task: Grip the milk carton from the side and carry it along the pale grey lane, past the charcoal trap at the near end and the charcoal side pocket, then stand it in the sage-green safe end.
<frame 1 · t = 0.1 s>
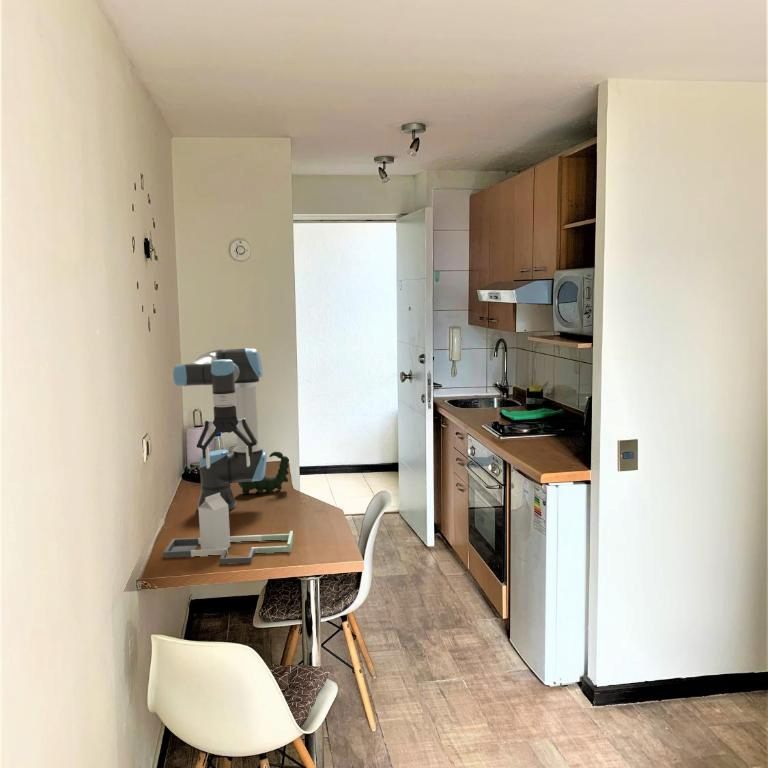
hand: (228, 466, 263), 28 cm above the table, tool pointing down, fingers open, 13 cm apart
toy figurine: (261, 493, 337), on the table
milk carton: (215, 549, 264), resting in trap lane
trap lane: (227, 548, 264), on the table
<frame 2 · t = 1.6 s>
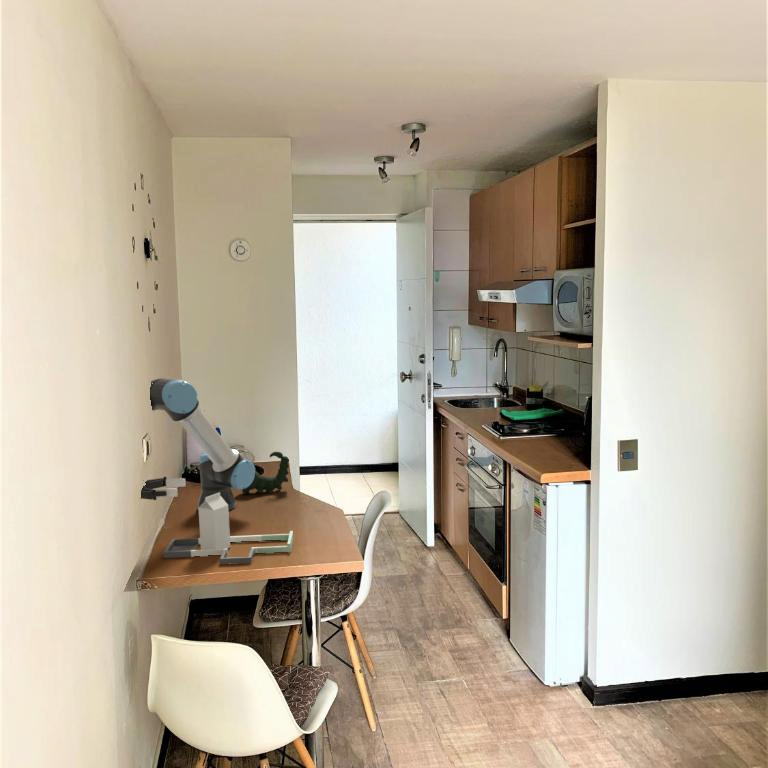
hand: (181, 487, 260), 22 cm above the table, tool horizontal, fingers open, 13 cm apart
nothing on the table moved.
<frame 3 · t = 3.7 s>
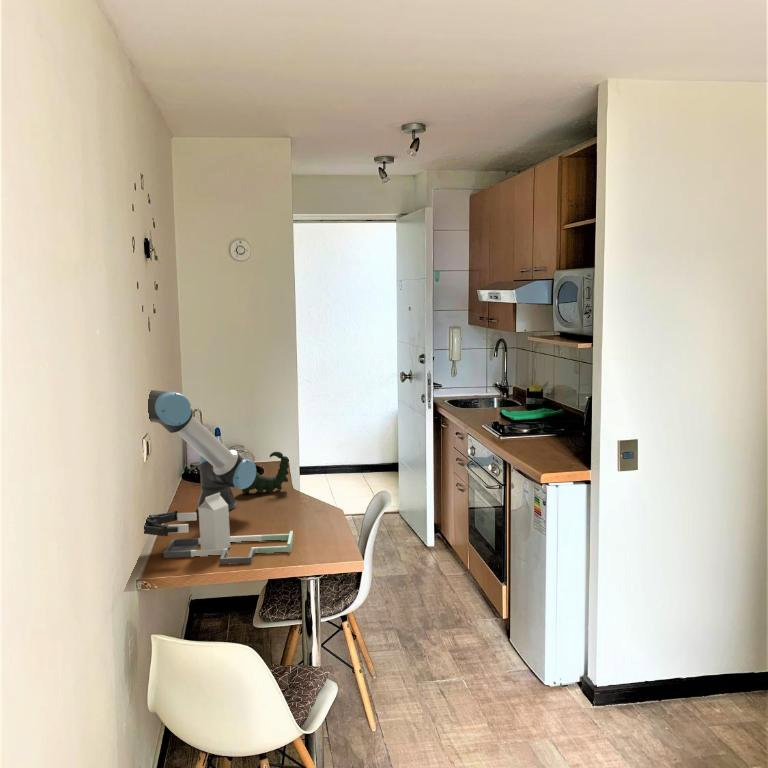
hand: (192, 522, 262), 10 cm above the table, tool horizontal, fingers open, 13 cm apart
nothing on the table moved.
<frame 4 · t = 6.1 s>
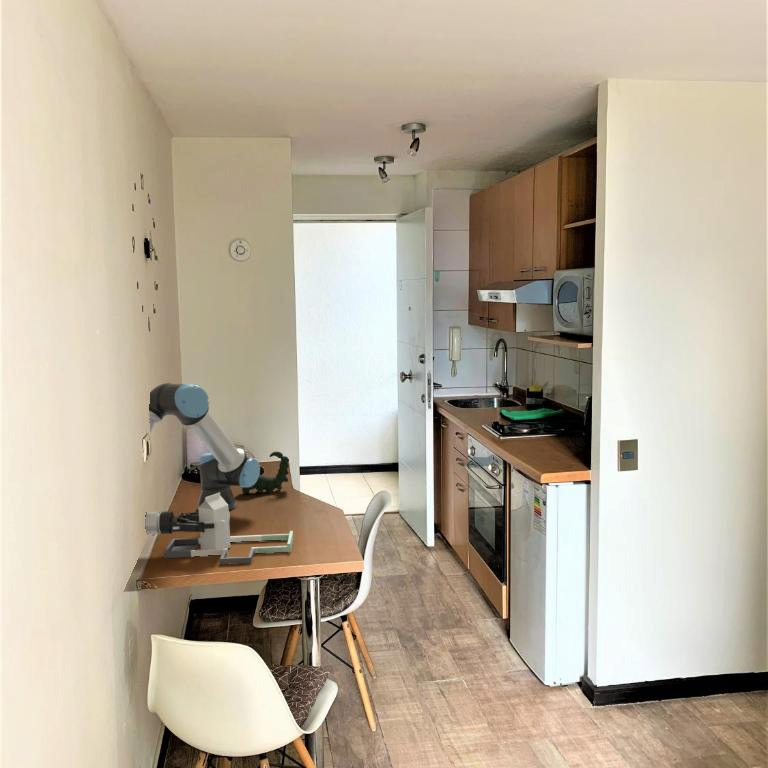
hand: (227, 520, 263), 10 cm above the table, tool horizontal, fingers closed on milk carton, 10 cm apart
milk carton: (215, 549, 264), resting in trap lane, touching gripper
everything else where it was.
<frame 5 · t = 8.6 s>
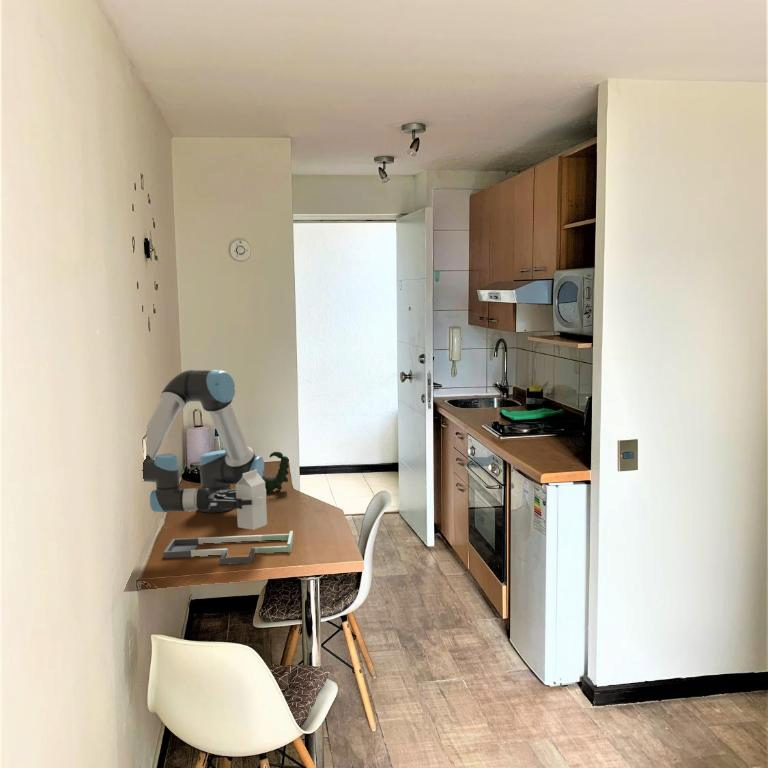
hand: (264, 497, 261), 18 cm above the table, tool horizontal, fingers closed on milk carton, 10 cm apart
milk carton: (252, 526, 262), point 8 cm above the table, touching gripper
everything else where it was.
when the fingers open (11 cm above the table, at t = 11.2 s): milk carton drops 1 cm, resting in trap lane.
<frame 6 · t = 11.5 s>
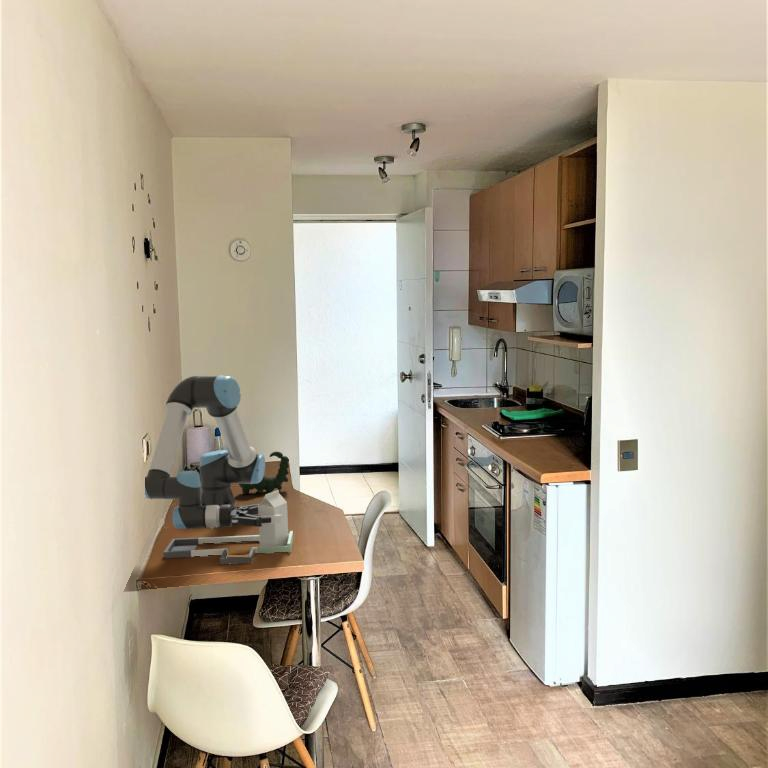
hand: (283, 513, 263), 11 cm above the table, tool horizontal, fingers open, 12 cm apart
milk carton: (274, 546, 265), resting in trap lane
everything else where it was.
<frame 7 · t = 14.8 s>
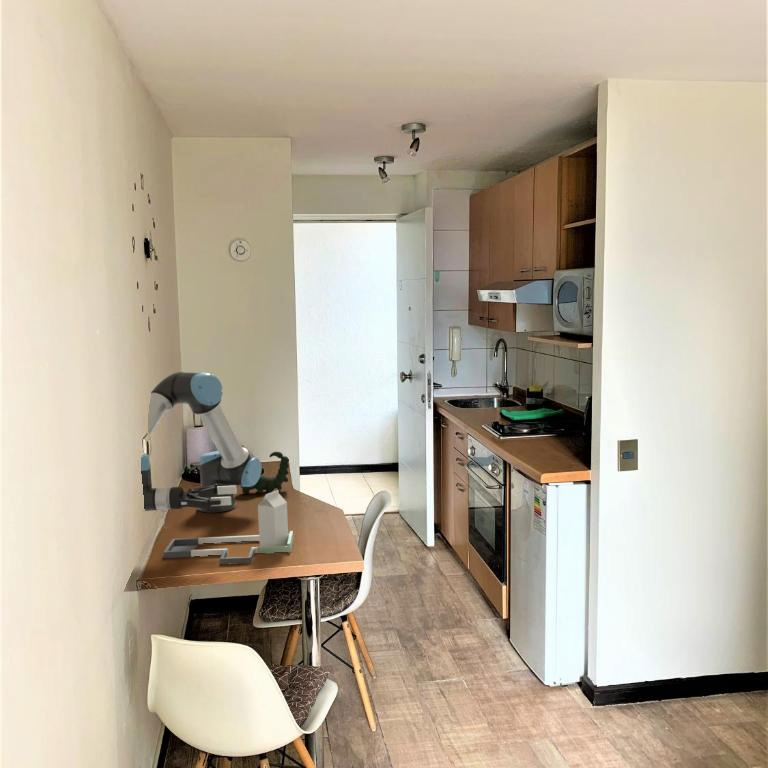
hand: (233, 495, 261), 19 cm above the table, tool horizontal, fingers open, 13 cm apart
nothing on the table moved.
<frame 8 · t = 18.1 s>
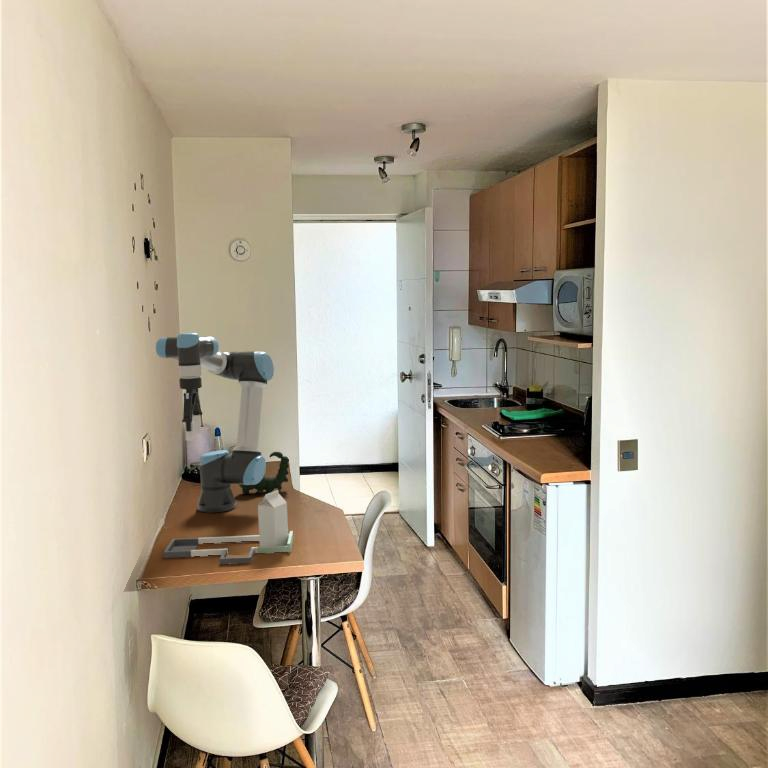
hand: (193, 436, 273), 37 cm above the table, tool pointing down, fingers open, 13 cm apart
nothing on the table moved.
at the end: milk carton inside the target area (0.1 cm from its centre), resting in trap lane; milk carton tilted 0°; the gripper is holding nothing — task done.
